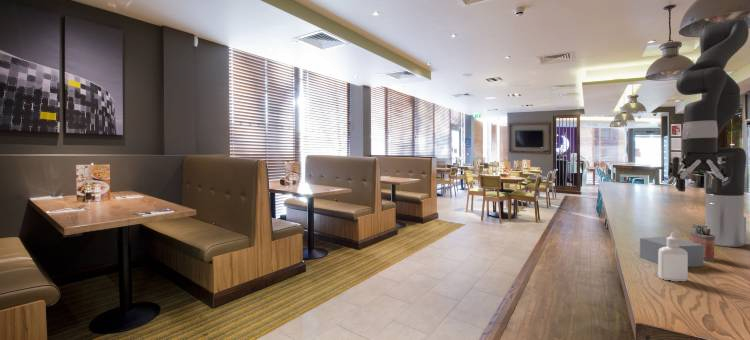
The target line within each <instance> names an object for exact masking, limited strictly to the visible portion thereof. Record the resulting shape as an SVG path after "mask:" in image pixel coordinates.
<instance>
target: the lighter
mask: <svg viewBox="0 0 750 340" xmlns="http://www.w3.org/2000/svg"><path fill="white" fill-rule="evenodd" d="M692 229H695V230H689V231H688V232H689V242H693V243H697V244H701V245H704V255H703V262H708V263H715V262H716V258H715V244H714V239H715V236H714V235H711V234H710V232H711V228H708V227H707V226H705V224H704V225H702V224H698V223H693V224H692Z"/></svg>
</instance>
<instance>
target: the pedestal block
mask: <svg viewBox="0 0 750 340" xmlns="http://www.w3.org/2000/svg"><path fill="white" fill-rule="evenodd" d="M667 237H668V236H659V237H657V236H656V237H639V258H641V259H644V260H646V261H649V262H653V263H655V264H658V251H659V249H660V248H662V247H666V246H667ZM678 239H679V248H682V249H684V250H686V251H687V253H688V268H690V267H692V268H695V267H704V261H703V255H704V245H701V244H697V243H693V242H690V240H684V239H681V238H678Z"/></svg>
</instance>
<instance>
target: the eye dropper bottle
mask: <svg viewBox="0 0 750 340" xmlns="http://www.w3.org/2000/svg"><path fill="white" fill-rule="evenodd" d="M666 237H667V246H666V247H662V248H660V249H659V251H658V263H657V265H658V268H657V276H658V277H659V278H660V279H661V280H663V279H664V281H668V280H671V281H670V282H678V281H682V282H687V281H688V279H689V278H688V274H689V273H688V272H689V271H688V270H689V267H688V253H687V251H686V250H684V249H682V248H679V239H680V238H678V237H677V236H676V233H675V232H671V233H670V236H666Z"/></svg>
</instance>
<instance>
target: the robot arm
mask: <svg viewBox="0 0 750 340" xmlns="http://www.w3.org/2000/svg"><path fill="white" fill-rule="evenodd" d="M749 29H750V28H749V26H748V22H747V21H746V20H745V19H742V18H737V19H731V20H728V21H724V22H718V23H716V24H715V23H714V24H712V25H711V24H710V25H707V26H705V27H703V28H702V30H701V31H700V36H699V37H700V38H699V46H700V55H699V56H698V57H697V60H696V61H695V63H694V64H692V65H691V66H690V67H688V68H686V69H685V70H684V71H683V72H682V73H681V74H680V75H679V76H678V78H677V80H676V82H675V86H676V90H677V92H678V93H679V94H681V95H683V96H693V95H700V94H701V99H699V100H696V101H692V102H688V103H687V104H686V105H685V106H684V110H683V111H684V112H683V127H682V139H681V140H682V142H681V146H682V147H681V153H682V156H681V157H678V156H671V157H669V160H668V161H669V162H668V173H667V175H668V177H672V178H674V179H675V188H676V190H677V191H678V192H680V193H681V192H683V193H684V192H685V191H686V179H685V178H686V177H687V176H688V175H689V174H690V173H692V172H702V173H703V174H705V175H709V176H711V177H712V179H711V184H707V185H706V186H705V211H704V212H705V216H704V218H705V219H704V221H705V223H704V225H705V226H707V227H708V228H711V232H710V234H711V235H714V236H715V239H714V246H715V245H716V246H723V247H732V248H733V247H734V248H735V247H737V248H738V247H739V248H741V247H744V246H746V245H747V217H746V216H745V215H744V213H745V211H744V210H745V179H746V178H745V177H746V176H745V175H746V166H747V153H746V151H745V149H744V148H742V147H739V146H738V147H718V138H719V135H720V134H721V132H722V131H723V130H724V128H725V127H726V126H727V125H728V124H729V122H730V121H731V120H732V119H733V118H734V117H735V115H737V113H738V111H739V110H740V107H741V106H740V105H741V89H740V86H739V84H738V83H737V82H736V80H734V79H733V78H732V77H731V76H730V75H729V74H728V73H727V72H726V70H725V68H726V66H727V63H728V62H729V60H730V59H731V58H732V57H733V56H734V55H735V54H736V53H737V52H738V51H739V50H741V49H742V48H743V47H744V45H746V43H747V41H748V38H749V31H750V30H749ZM681 163H682V164H683V165H682V167H681V168H679V165H680V164H681ZM726 178H727V179H726ZM724 179H726V180H724ZM723 180H724V181H723Z"/></svg>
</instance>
